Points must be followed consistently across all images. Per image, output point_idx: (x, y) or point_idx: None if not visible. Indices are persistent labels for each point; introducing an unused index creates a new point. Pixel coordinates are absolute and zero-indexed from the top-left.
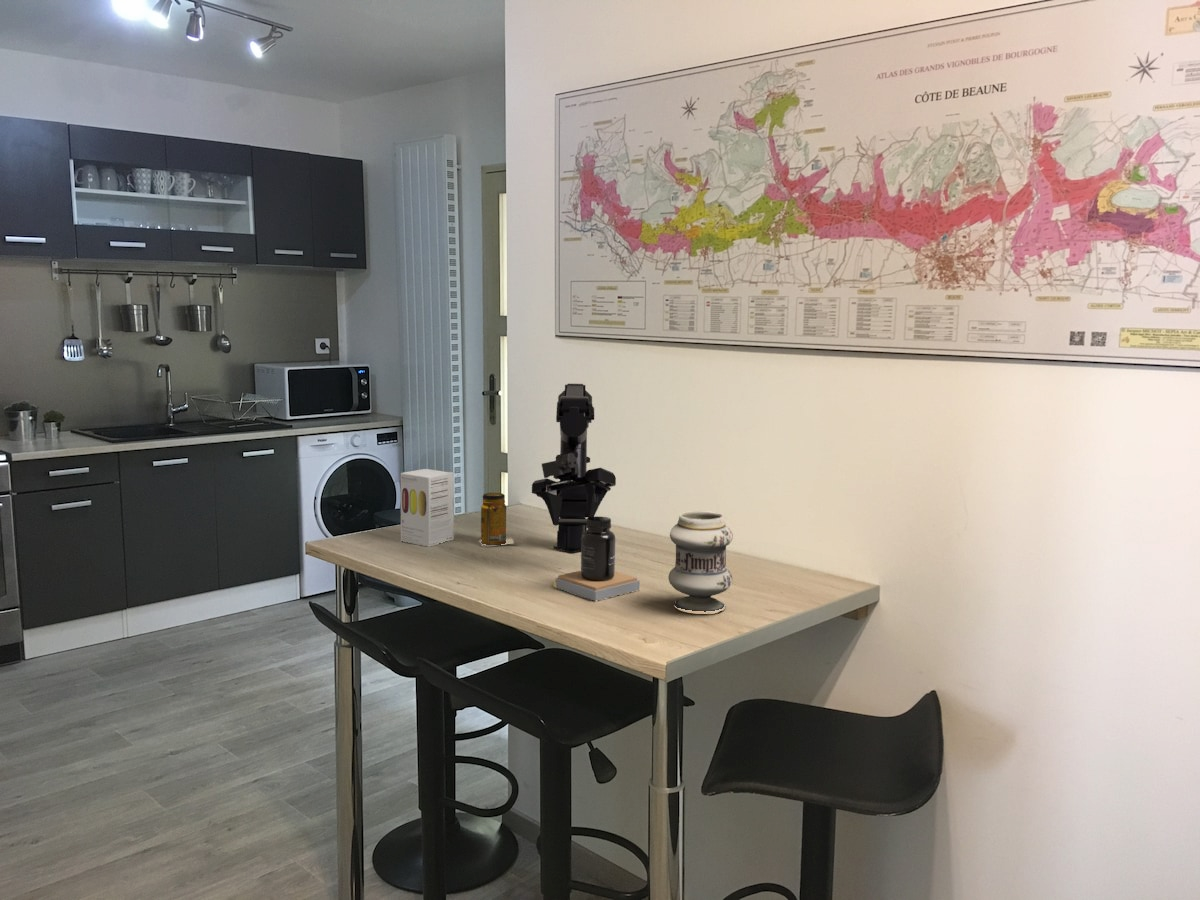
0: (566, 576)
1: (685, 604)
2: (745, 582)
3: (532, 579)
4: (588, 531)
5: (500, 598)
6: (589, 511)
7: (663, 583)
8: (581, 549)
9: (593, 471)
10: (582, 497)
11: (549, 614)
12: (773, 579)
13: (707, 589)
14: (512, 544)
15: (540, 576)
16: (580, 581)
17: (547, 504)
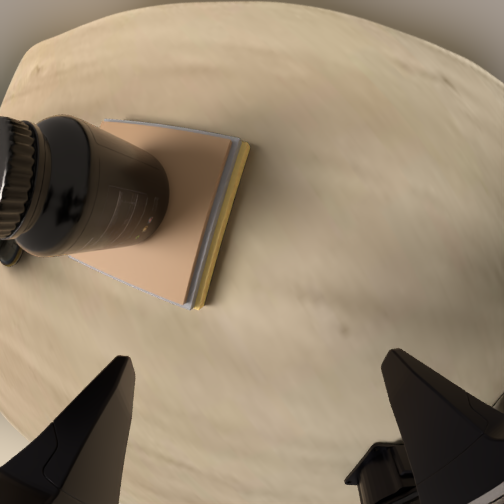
0: (204, 147)
1: None
2: (29, 381)
3: (348, 183)
4: (44, 132)
5: (302, 29)
6: (97, 382)
7: (78, 330)
8: (116, 140)
9: None
10: None
11: (164, 27)
12: (26, 403)
13: None
14: (496, 404)
15: (347, 223)
16: (149, 134)
17: (489, 411)
